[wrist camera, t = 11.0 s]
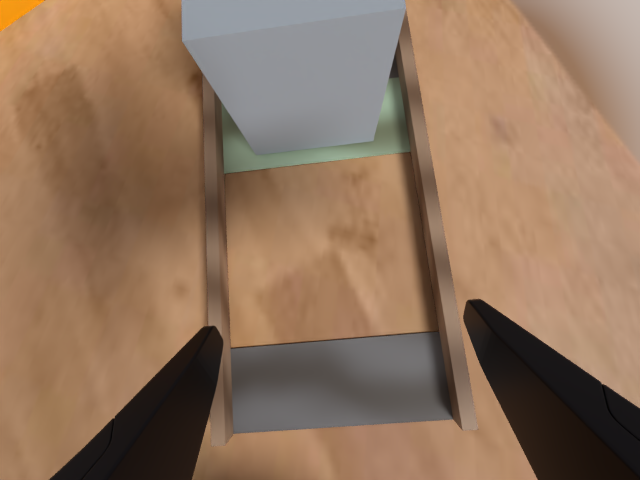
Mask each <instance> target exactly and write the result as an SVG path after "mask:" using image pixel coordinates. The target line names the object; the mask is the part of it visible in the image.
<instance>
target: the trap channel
mask: <svg viewBox="0 0 640 480" xmlns="http://www.w3.org/2000/svg"><path fill="white" fill-rule="evenodd" d="M202 83H203V125H204V167H205V209H206V251H207V293H208V326H212V325H214V326H216V327H217V329H218V331H219V333H220V334H221V336H222V338H223V341H224V345H223V352H222V358H221V364H220V370H219V376H218V382H217V387H216V391H215V395H214V399H213V402H212V406H211V410H210V419H211V446H225V445H226V444H227V442H228V441H229V439H230V438H231V437H232V435H233V434H235V433H251V432H266V431H281V430H297V429H312V428H327V427H343V426H358V425H374V424H389V423H404V422H420V421H435V420H450V419H453V420H454V421H455V422H456V423H457V424H458V426H459V427H460V428H461V429H462V430H463V431H465V430H478V425H477V419H476V413H475V408H474V402H473V396H472V390H471V384H470V378H469V373H468V367H467V361H466V355H465V349H464V343H463V338H462V332H461V326H460V320H459V314H458V308H457V303H456V297H455V291H454V285H453V279H452V274H451V268H450V262H449V256H448V250H447V244H446V239H445V233H444V227H443V221H442V215H441V209H440V204H439V198H438V192H437V186H436V180H435V174H434V169H433V163H432V157H431V151H430V145H429V139H428V134H427V128H426V122H425V116H424V110H423V105H422V99H421V93H420V87H419V81H418V75H417V70H416V64H415V58H414V52H413V46H412V40H411V35H410V29H409V23H408V17H407V11H406V10H405V14H404V18H403V22H402V26H401V30H400V35H399V39H398V43H397V47H396V51H395V55H394V59H393V63H392V67H391V71H390V75H389V79H388V83H387V87H386V91H385V95H384V99H383V103H382V108H381V112H380V116H379V120H378V124H377V128H376V132H375V136H374V140H373V141H370V142H362V143H354V144H345V145H337V146H329V147H321V148H312V149H304V150H296V151H288V152H279V153H271V154H263V155H256V154H255V153H254V151H253V149H252V148H251V146H250V145H249V143H248V142H247V140H246V139H245V137H244V136H243V134H242V133H241V131H240V129H239V128H238V126H237V125H236V123H235V122H234V120H233V119H232V117H231V116H230V114H229V113H228V111H227V109H226V108H225V106H224V105H223V103H222V102H221V100H220V99H219V97H218V96H217V94H216V92H215V91H214V89H213V88H212V86H211V85H210V83H209V82H208V80H207V79H206V77H205V76H204V74H203V72H202ZM403 152H411V157H412V164H413V170H414V176H415V183H416V189H417V195H418V201H419V208H420V214H421V220H422V227H423V233H424V239H425V246H426V252H427V258H428V265H429V271H430V277H431V283H432V290H433V296H434V302H435V309H436V315H437V321H438V328H439V332H428V333H416V334H404V335H392V336H379V337H367V338H355V339H343V340H331V341H319V342H307V343H295V344H282V345H270V346H258V347H246V348H234V349H231V345H230V318H229V290H228V263H227V235H226V208H225V180H224V174H226V173H234V172H243V171H251V170H260V169H268V168H277V167H285V166H294V165H302V164H310V163H319V162H327V161H336V160H344V159H353V158H361V157H370V156H378V155H386V154H395V153H403Z"/></svg>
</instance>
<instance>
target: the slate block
mask: <svg viewBox="0 0 640 480" xmlns="http://www.w3.org/2000/svg"><path fill="white" fill-rule="evenodd" d="M405 10H406V5H405V0H182V42H183V43H184V45H185V46H186V48H187V49H188V51H189V52H190V54H191V56H192V57H193V59H194V60H195V62H196V63H197V65H198V66H199V68H200V69H201V71H202V72H203V74H204V76H205V77H206V79H207V80H208V82H209V83H210V85H211V86H212V88H213V89H214V91H215V92H216V94H217V96H218V97H219V99H220V100H221V102H222V103H223V105H224V106H225V108H226V109H227V111H228V113H229V114H230V116H231V117H232V119H233V120H234V122H235V123H236V125H237V126H238V128H239V129H240V131H241V133H242V134H243V136H244V137H245V139H246V140H247V142H248V143H249V145H250V146H251V148H252V149H253V151H254V153H255V154H256V155H263V154H271V153H279V152H288V151H296V150H304V149H312V148H321V147H329V146H337V145H345V144H354V143H362V142H370V141H373V140H374V136H375V132H376V128H377V124H378V120H379V116H380V112H381V108H382V103H383V99H384V95H385V91H386V87H387V83H388V79H389V75H390V71H391V67H392V63H393V59H394V55H395V51H396V47H397V43H398V39H399V35H400V30H401V26H402V22H403V18H404V14H405Z"/></svg>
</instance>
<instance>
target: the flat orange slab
mask: <svg viewBox="0 0 640 480" xmlns="http://www.w3.org/2000/svg"><path fill="white" fill-rule="evenodd" d="M43 1H45V0H0V31H2V30H3V29H5V28H6V27H7V26H9V25H10V24H12V23H13V22H15V21H16V20H17V19H19V18H20V17H22V16H23V15H25V14H26V13H27V12H29V11H30V10H32V9H33V8H35V7H36V6H37V5H39V4H40V3H42V2H43Z"/></svg>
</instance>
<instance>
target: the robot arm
mask: <svg viewBox="0 0 640 480" xmlns="http://www.w3.org/2000/svg"><path fill="white" fill-rule="evenodd" d="M463 319H464V323H465V326H466V328H467V331H468V334H469V336H470V339H471V342H472V344H473V347H474V350H475V352H476V355H477V358H478V360H479V363H480V365H481V367H482V369H483V372H484V374H485V376H486V378H487V380H488V382H489V384H490V386H491V388H492V390H493V392H494V394H495V396H496V398H497V400H498V401H499V403H500V405H501V407H502V409H503V411H504V413H505V415H506V417H507V419H508V421H509V423H510V425H511V427H512V429H513V431H514V433H515V435H516V437H517V439H518V441H519V443H520V445H521V447H522V449H523V451H524V453H525V455H526V457H527V459H528V461H529V463H530V465H531V467H532V469H533V471H534V473H535V475H536V477H537V479H538V480H640V408H638V407H637V406H635V405H634V404H632V403H631V402H629V401H628V400H626V399H625V398H624V397H622V396H621V395H619V394H618V393H616V392H615V391H613V390H612V389H610V388H609V387H608V386H606V385H604V384H601V382H600V381H599V380H597V379H596V378H594V377H593V376H591V375H590V374H589V373H587V372H586V371H584V370H583V369H581V368H580V367H578V366H577V365H576V364H574V363H573V362H571V361H570V360H568V359H567V358H565V357H564V356H563V355H561V354H560V353H558V352H557V351H555V350H554V349H552V348H551V347H549V346H548V345H547V344H545V343H544V342H542V341H541V340H539V339H538V338H536V337H535V336H534V335H532V334H531V333H529V332H528V331H526V330H525V329H523V328H522V327H521V326H519V325H518V324H516V323H515V322H513V321H512V320H510V319H509V318H508V317H506V316H505V315H503V314H502V313H500V312H499V311H497V310H496V309H495V308H493V307H492V306H490V305H489V304H487V303H486V302H484V301H483V300H481V299H472V300H468V301H467V302H466V306H465V310H464V315H463ZM223 345H224V341H223V338H222V336H221V334H220V333H219V331H218V329H217V327H216V326H214V325H212V326H205V327H203V328H201V329H200V330H199V331H198V333H197V334H196V335H195V336H194V337H193V338H192V339H191V340H190V341H189V342H188V343H187V344H186V345H185V346H184V347H183V348H182V349H181V350H180V351H179V352H178V353H177V354H176V355H175V356H174V357H173V358H172V359H171V360H170V361H169V362H168V363H167V364H166V365H165V366H164V367H163V368H162V369H161V370H160V371H159V372H158V373H157V374H156V375H155V376H154V377H153V378H152V379H151V380H150V381H149V382H148V383H147V384H146V385H145V386H144V387H143V388H142V389H141V390H140V391H139V392H138V393H137V394H136V395H135V397H134V398H133V399H132V400H131V401H130V402H129V403H128V404H127V405H126V406H125V407H124V408H123V409H122V410H121V411H120V412H119V413H118V414H117V415H116V416H115V419H114V418H113V419H112V420H111V421H110V422H109V423H108V424H107V425H106V426H105V427H104V428H103V429H102V430H101V431H100V432H99V433H98V434H97V435H96V436H95V437H94V438H93V439H92V440H91V441H90V442H89V443H88V444H87V445H86V446H85V447H84V448H83V449H82V450H81V451H79V452H78V453H77V454H76V455H75V456H74V457H73V458H72V459H71V460H70V461H69V462H68V463H67V464H66V465H65V466H63V467H62V468H61V469H60V470H59V471H58V472H57V473H56V474H55V475H54V476H53V477H51V478H50V479H49V480H192V477H193V473H194V469H195V466H196V462H197V458H198V455H199V451H200V447H201V443H202V440H203V436H204V432H205V428H206V425H207V421H208V417H209V414H210V410H211V406H212V402H213V399H214V395H215V391H216V387H217V382H218V376H219V370H220V364H221V358H222V352H223Z"/></svg>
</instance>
